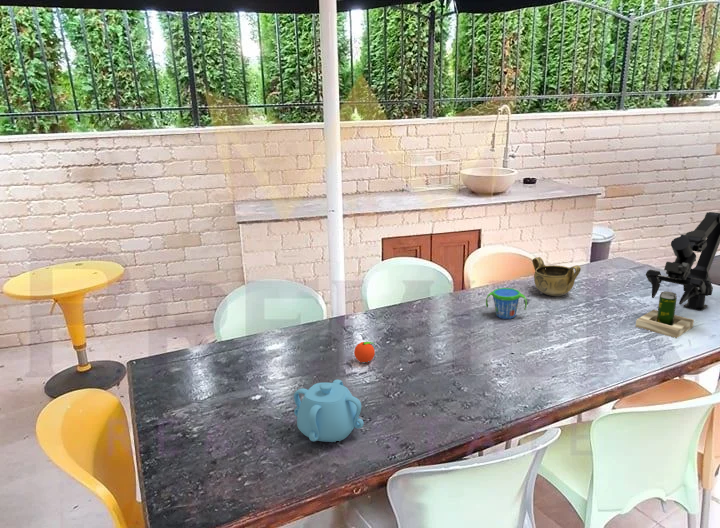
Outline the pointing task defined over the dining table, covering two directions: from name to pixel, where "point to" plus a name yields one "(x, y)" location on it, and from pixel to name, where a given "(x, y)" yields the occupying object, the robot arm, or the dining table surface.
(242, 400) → the dining table surface
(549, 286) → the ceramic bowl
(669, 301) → the beer can
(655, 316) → the birch tray
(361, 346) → the clementine
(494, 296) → the snack cup
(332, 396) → the decorative pot
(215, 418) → the dining table surface
